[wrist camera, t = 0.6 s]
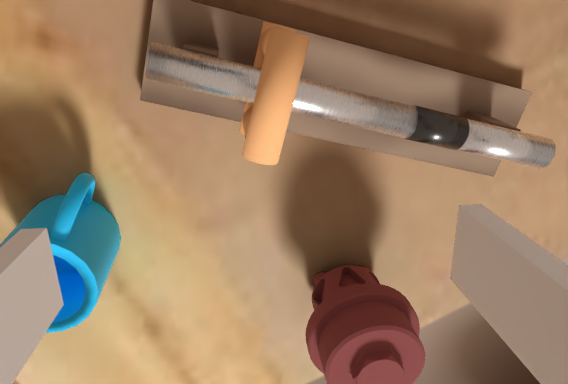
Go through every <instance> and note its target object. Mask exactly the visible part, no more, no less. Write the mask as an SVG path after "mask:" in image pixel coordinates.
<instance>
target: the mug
mask: <svg viewBox="0 0 568 384" xmlns="http://www.w3.org/2000/svg"><path fill="white" fill-rule="evenodd" d="M95 183H96V181H95V178H94V177H93V175H91V174H89V173H81V174H79V175H78V176H77V177H76V178H75V180H74V181H73V183H72V184H71V186H70V188H69V190H68V192H67V194H66V195H55V196H53V197H50V198H48V199H45V200H43V201H41V202H40V203H39V204H38V205H36V206H35V207H34V208H33V209H32V210H31V211H30V212H29V213H28V214H27V215H26V216H25V218H24V219H23V220H22V221H21V222H20V223H19V224H18V225H17V226H16V228H15V229H14V230H13V231H12V232H11V233H10V234H9V235H8V236H7V238H6V239H5V240H4V241H3V242H2V243H1V244H0V247H2V246H3V245H4V244H5V243H6V242H7V241H8V240H9V239H10V238H12V237H13V236H14V235H15V234H16V233H17V232H18V231H19V230H21V229H34V228H47V231H48V235H49V240H50V244H51V249H52V253H53V258H54V263H55V267H56V272H57V276H58V281H59V285H60V290H61V294H62V299H63V304H64V305H63V307H62V308H61V310H60V311H59V313H58V314H57V316H56V317H55V319H54V320H53V322H52V323H51V325H50V327H49V328H48V330H47V331H46V333H48V332H57V331H63V330H66V329H69V328H71V327H74V326H76V325H78V324H79V323H81V322H82V321H83V320H84V319H86V318H87V317H88V316H89V315H90V313H91V312H92V310H93V308H94V307H95V305H96V303H97V301H98V298H99V296H100V293H101V291H102V289H103V286H104V284H105V281H106V279H107V277H108V274H109V272H110V269H111V267H112V265H113V262H114V260H115V257H116V255H117V253H118V250H119V246H120V240H121V236H120V231H119V226H118V224H117V222H116V221H115V219H114V217H113V216H112V214H111V213H110V212H109V211H108V210H107V209H105V208H104V207H103V206H102V205H101V204H100V203H97V202H95V201H93V200H92V198H93V194H94V190H95Z"/></svg>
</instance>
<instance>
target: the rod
mask: <svg viewBox="0 0 568 384" xmlns="http://www.w3.org/2000/svg"><path fill="white" fill-rule="evenodd" d="M261 69H262V68H257V67H253V66H249V65H245V64H241V63H237V62H233V61H229V60H225V59H221V58H216V57H212V56H208V55H204V54H200V53H196V52H192V51H188V50H184V49H180V48H176V47H171V46H167V45H163V44H159V43H155V42H152V43H151V45H150V49H149V53H148V58H147V65H146V80H149V81H154V82H158V83H163V84H167V85H171V86H176V87H180V88H185V89H189V90H194V91H198V92H202V93H207V94H211V95H216V96H220V97H224V98H229V99H233V100H238V101H242V102H247V103H251V104H254V100H255V95H256V91H257V87H258V82H259V78H260V74H261ZM291 113H295V114H300V115H304V116H309V117H313V118H317V119H322V120H326V121H331V122H335V123H340V124H344V125H348V126H353V127H357V128H362V129H366V130H371V131H375V132H379V133H384V134H388V135H393V136H397V137H402V138H404V139H407V140H412V141H416V142H421V143H425V144H429V145H434V146H438V147H443V148H447V149H452V150H459V151H463V152H468V153H472V154H477V155H481V156H486V157H490V158H494V159H499V160H503V161H508V162H512V163H517V164H521V165H525V166H530V167H534V168H539V169H541V168H544V167H546V166H548V165H549V164H550V163H551V161H552V160H553V158H554V155H555V144H554V142H553V141H552V140H551V139H548V138H544V137H540V136H536V135H532V134H528V133H524V132H520V131H516V130H511V129H507V128H503V127H499V126H495V125H491V124H487V123H483V122H479V121H475V120H470V119H466V118H465V117H461V116H457V115H453V114H449V113H445V112H441V111H437V110H433V109H428V108H424V107H420V106H416V105H409V104H405V103H401V102H397V101H393V100H389V99H384V98H380V97H376V96H372V95H368V94H364V93H360V92H356V91H352V90H348V89H343V88H339V87H335V86H331V85H327V84H323V83H319V82H315V81H311V80H307V79H303V78H300V80H299V84H298V88H297V92H296V95H295V99H294V103H293V107H292V111H291Z"/></svg>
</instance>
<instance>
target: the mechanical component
mask: <svg viewBox="0 0 568 384" xmlns="http://www.w3.org/2000/svg"><path fill="white" fill-rule="evenodd" d="M313 281H314V284H315V287H314V289H313V293H312V303H313V307H314V312H313V314H312V315H311V317H310V319H309V321H308V324H307V328H306V343H307V347H308V351H309V355H310V358H311V360H312V362H313V363H314V365H315V366H316V367H317V368H318V369H319V370H320V371H321V372H322V373H324V374H325V378H326V381H327V384H413V383H414V382H415V381H416V379H417V378H418V377H419V375H420V373H421V372H422V369H423V367H424V363H425V351H424V347H423V345H422V343H421V341H420V339H419V321H418V317H417V315H416V312H415V311H414V309H413V307H412V306H411V304H410V303H409V301H408V300H407V299H406V297H405V296H404V295H402V294H401V293H400V292H399V291H397V290H395V289H393V288H391V287H389V286H385V285H381V284H380V283H379V281H378V279H377V278H376V276H375V275H374V274H373V273H372V272H371V270H370V269H369V268H368V267H361V266H356V265H346V266H341V267H337V268H335V269H332V270H331V271H329V272H327V273H325V272H320V273H317V274H316V275H315V276H314V278H313Z"/></svg>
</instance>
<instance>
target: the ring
mask: <svg viewBox="0 0 568 384" xmlns="http://www.w3.org/2000/svg"><path fill="white" fill-rule="evenodd" d="M296 31H297V30H294V29H291V28H287V27H284V26H280V25H276V24H273V23H269V22H264V21H263V26H262V30H261V35H260V39H259V44H258V48H257V53H256V57H255V62H254V67H257V68H262V69H261V74H260V78H259V82H258V87H257V91H256V95H255V100H254V104H251V103H247V102H246V103H245V107H244V112H243V116H242V121H241V125H240V130H239V131H240V132H241V133H242V134H244V135H245V144H244V148H243V152H242V155H243V156H244V157H245V158H246V159H248V160H250V161H252V162H255V163H259V164H264V165H275V164H277V163H278V160H279V157H280V153H281V149H282V145H283V141H284V137H285V134H286V130H287V126H288V122H289V118H290V115H291V111H292V107H293V103H294V99H295V95H296V92H297V88H298V84H299V80H300V76H301V72H302V69H303V65H304V61H305V57H306V53H307V50H308V46H309V42H310V38H311V37H309V36H306V35H303V34H300V33H296Z"/></svg>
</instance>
